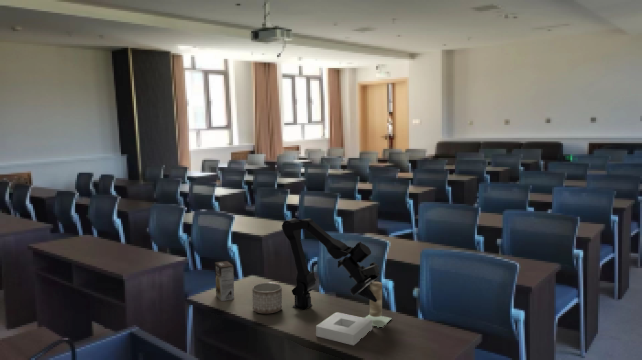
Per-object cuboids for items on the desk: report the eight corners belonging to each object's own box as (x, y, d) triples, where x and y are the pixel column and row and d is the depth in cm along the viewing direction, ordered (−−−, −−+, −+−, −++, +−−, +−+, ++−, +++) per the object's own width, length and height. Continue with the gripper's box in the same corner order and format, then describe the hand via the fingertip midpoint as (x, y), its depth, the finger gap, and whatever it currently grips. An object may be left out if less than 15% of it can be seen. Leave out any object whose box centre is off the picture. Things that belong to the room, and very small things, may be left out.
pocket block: (316, 336, 187) (316, 326, 186) (336, 321, 200) (336, 312, 200) (353, 345, 179) (353, 335, 178) (372, 329, 192) (372, 319, 192)
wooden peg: (369, 316, 197) (370, 285, 196) (369, 312, 202) (369, 281, 201) (382, 316, 197) (382, 285, 196) (381, 312, 202) (381, 281, 201)
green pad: (359, 323, 198) (359, 321, 198) (369, 314, 207) (369, 313, 207) (382, 328, 193) (382, 326, 193) (391, 319, 202) (392, 318, 202)
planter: (269, 318, 204) (268, 294, 203) (246, 311, 211) (246, 288, 210) (287, 308, 215) (287, 285, 214) (265, 302, 222) (265, 280, 221)
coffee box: (215, 295, 232) (214, 262, 230) (228, 293, 235) (227, 260, 233) (221, 301, 224) (220, 267, 222) (234, 299, 227) (233, 265, 225)
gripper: (357, 263, 191) (383, 295, 187) (375, 252, 207) (400, 281, 203) (339, 279, 196) (364, 311, 192) (358, 267, 212) (382, 296, 208)
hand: (378, 299), depth 198 cm, fingers closed on wooden peg, 5 cm apart
